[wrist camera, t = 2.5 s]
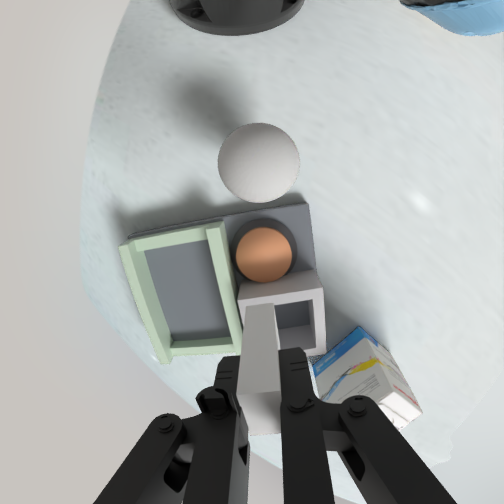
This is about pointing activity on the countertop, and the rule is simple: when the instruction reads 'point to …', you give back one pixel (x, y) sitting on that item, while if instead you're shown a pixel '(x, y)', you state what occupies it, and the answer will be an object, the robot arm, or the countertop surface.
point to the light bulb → (258, 162)
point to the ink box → (366, 378)
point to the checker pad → (263, 254)
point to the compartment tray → (222, 284)
